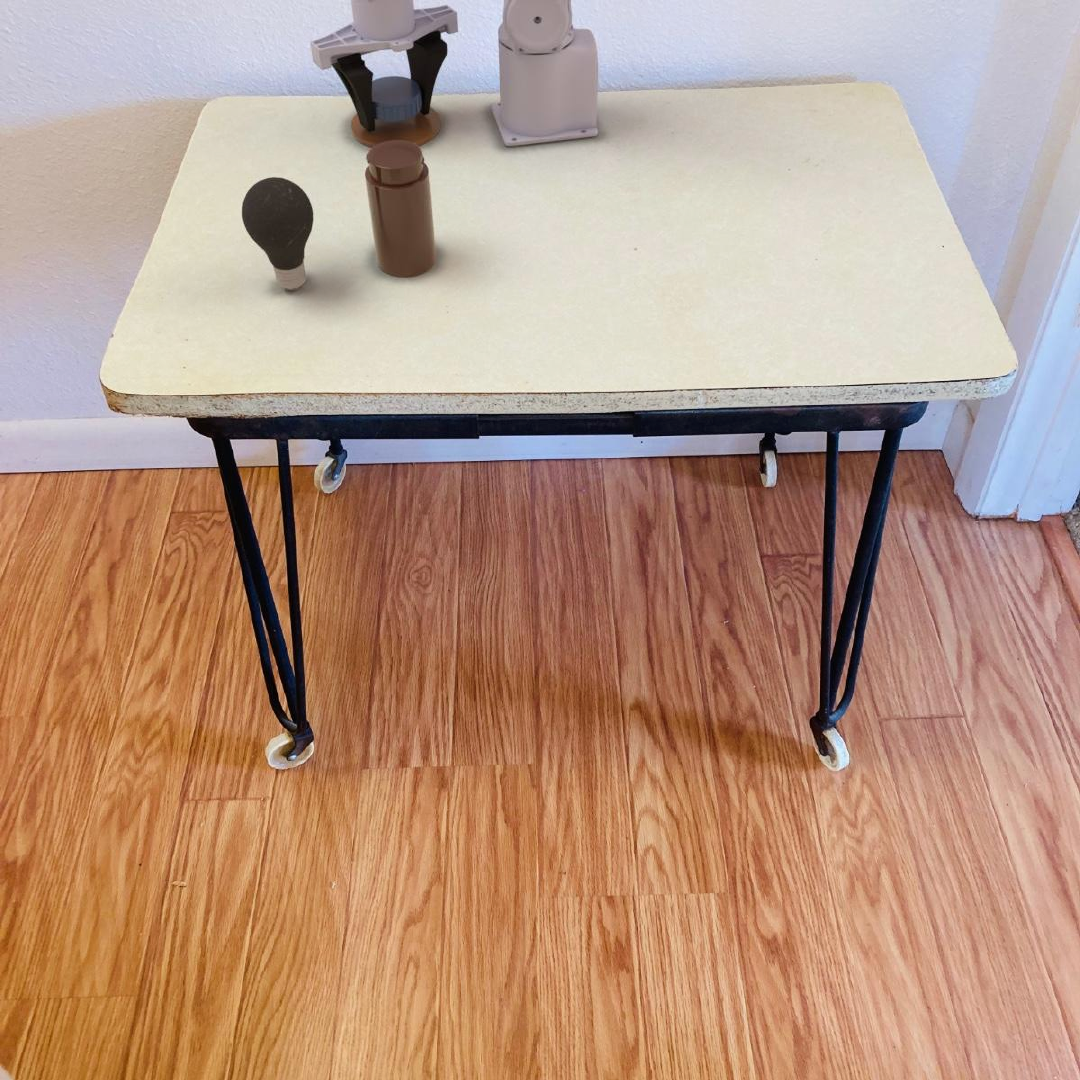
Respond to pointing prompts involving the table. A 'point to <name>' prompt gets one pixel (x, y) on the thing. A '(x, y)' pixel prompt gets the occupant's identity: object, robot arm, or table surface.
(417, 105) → the jar lid
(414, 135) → the coaster
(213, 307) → the table surface
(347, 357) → the table surface
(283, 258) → the light bulb
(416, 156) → the jar
